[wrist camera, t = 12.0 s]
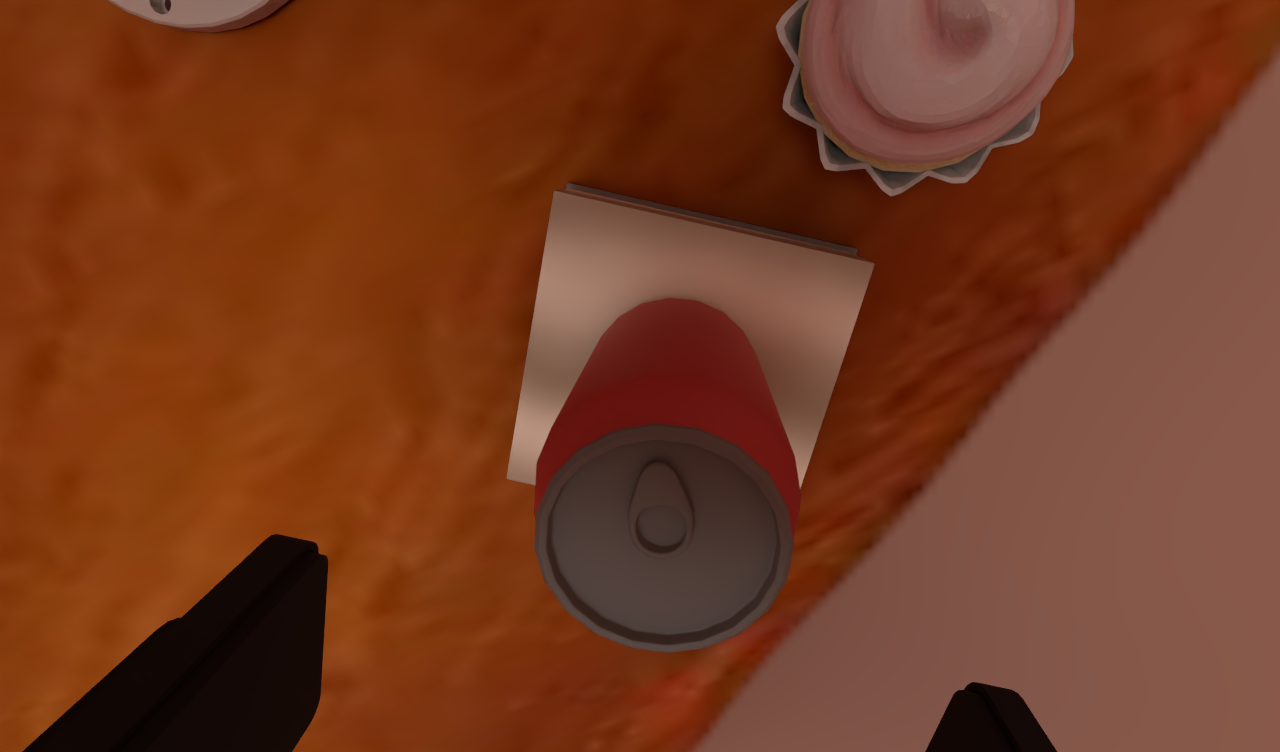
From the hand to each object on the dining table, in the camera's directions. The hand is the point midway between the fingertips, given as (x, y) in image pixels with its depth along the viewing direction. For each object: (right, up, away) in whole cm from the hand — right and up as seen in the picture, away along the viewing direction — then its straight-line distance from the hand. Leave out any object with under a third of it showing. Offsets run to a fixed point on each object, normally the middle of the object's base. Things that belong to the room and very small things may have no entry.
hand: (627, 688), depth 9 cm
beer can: (+2, +5, +16) cm, 16 cm away
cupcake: (+10, +17, +16) cm, 25 cm away
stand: (+2, +6, +19) cm, 20 cm away
